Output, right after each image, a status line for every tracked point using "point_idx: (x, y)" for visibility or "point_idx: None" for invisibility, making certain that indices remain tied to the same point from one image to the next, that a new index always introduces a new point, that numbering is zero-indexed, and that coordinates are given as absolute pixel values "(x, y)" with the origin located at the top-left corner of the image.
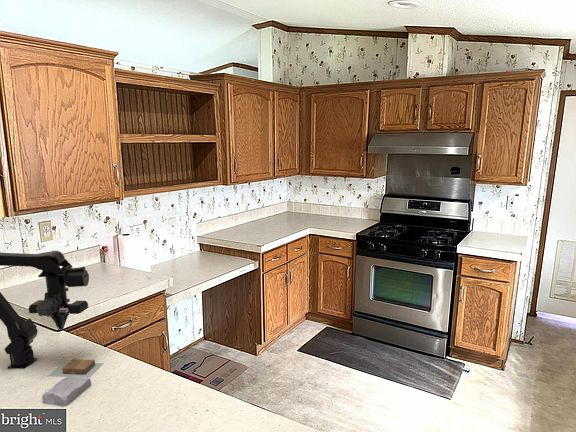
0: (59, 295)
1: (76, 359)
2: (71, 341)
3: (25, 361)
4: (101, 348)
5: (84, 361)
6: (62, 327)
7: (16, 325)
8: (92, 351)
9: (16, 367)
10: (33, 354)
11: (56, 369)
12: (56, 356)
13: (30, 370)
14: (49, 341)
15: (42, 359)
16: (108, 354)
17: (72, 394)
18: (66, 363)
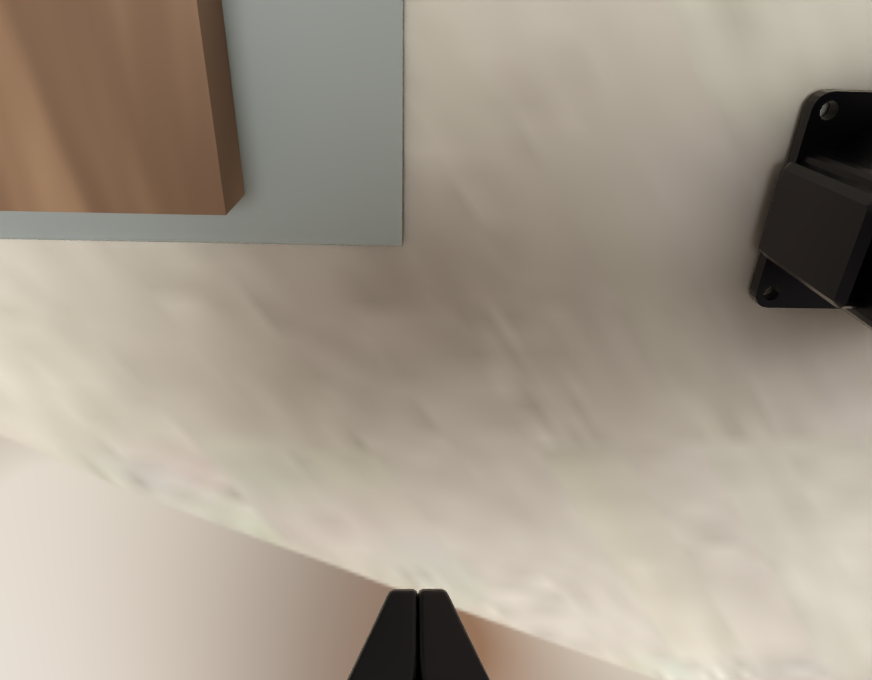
0: None
1: (169, 208)
2: (567, 592)
3: (851, 160)
4: (197, 505)
5: (13, 160)
6: (367, 653)
7: None
8: (247, 457)
9: None
10: (803, 276)
11: (385, 75)
12: (566, 364)
13: (720, 64)
14: (769, 586)
15: (689, 306)
16: (32, 413)
17: None
18: (350, 218)
